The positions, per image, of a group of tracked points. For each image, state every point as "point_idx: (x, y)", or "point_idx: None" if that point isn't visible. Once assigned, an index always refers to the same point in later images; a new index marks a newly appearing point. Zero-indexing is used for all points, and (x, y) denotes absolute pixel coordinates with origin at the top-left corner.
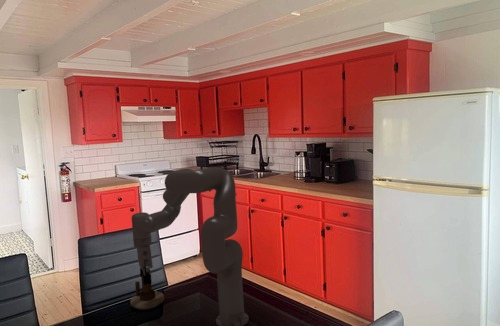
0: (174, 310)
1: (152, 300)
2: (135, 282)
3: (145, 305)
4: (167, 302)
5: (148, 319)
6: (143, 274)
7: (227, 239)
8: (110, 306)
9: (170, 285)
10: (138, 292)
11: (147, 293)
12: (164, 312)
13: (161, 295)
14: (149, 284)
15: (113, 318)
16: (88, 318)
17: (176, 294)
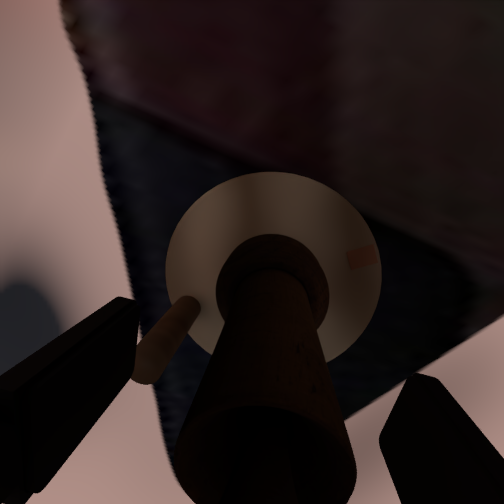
0: (474, 181)
1: (338, 277)
2: (138, 381)
3: (359, 329)
4: (325, 165)
5: (442, 333)
6: (222, 458)
7: None
8: (157, 393)
9: (63, 19)
10: (192, 322)
11: (314, 317)
12: (442, 239)
13: (305, 194)
14: (316, 331)
15: None
16: None
17: (248, 54)
